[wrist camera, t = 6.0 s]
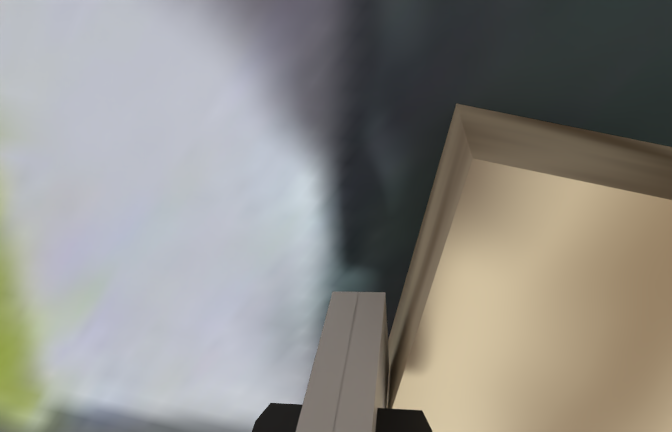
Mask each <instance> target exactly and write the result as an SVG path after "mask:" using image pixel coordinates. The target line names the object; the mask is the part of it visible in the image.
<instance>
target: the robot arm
mask: <svg viewBox="0 0 672 432" xmlns="http://www.w3.org/2000/svg"><path fill="white" fill-rule="evenodd" d="M388 379H389V350H388V332H387V314H386V296H385V292H332V296H331V300H330V303H329V307H328V311H327V315H326V319H325V322H324V326H323V330H322V334H321V337H320V341H319V345H318V349H317V353H316V356H315V360H314V364H313V368H312V371H311V375H310V379H309V383H308V387H307V390H306V394H305V398H304V402H303V405H297V404H279V403H270V405H269V406H268V407H267V408H266V409H265V410H264V412H263V413H262V414H261V415H260V416H259V418H258V419H257V420H256V422H255V424H254V427H253V430H252V432H432V429H431V427H430V425H429V423H428V421H427V419H426V417H425V415H424V413H423V411H422V410H407V409H390V408H387V394H388Z"/></svg>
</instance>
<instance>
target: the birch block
mask: <svg viewBox="0 0 672 432" xmlns="http://www.w3.org/2000/svg"><path fill="white" fill-rule="evenodd" d="M388 350H389V379H388V394H387V408H390V409H407V410H422V411H423V413H424V415H425V417H426V419H427V421H428V423H429V425H430V427H431V429H432V432H672V147H669V146H664V145H659V144H654V143H649V142H644V141H639V140H635V139H630V138H625V137H620V136H615V135H610V134H605V133H600V132H595V131H590V130H585V129H580V128H575V127H570V126H565V125H560V124H555V123H550V122H546V121H541V120H536V119H531V118H526V117H521V116H516V115H511V114H506V113H501V112H496V111H491V110H486V109H481V108H476V107H471V106H466V105H461V104H457V103H456V107H455V110H454V114H453V117H452V120H451V124H450V127H449V131H448V134H447V138H446V141H445V145H444V148H443V152H442V155H441V159H440V162H439V166H438V169H437V173H436V176H435V180H434V183H433V186H432V190H431V193H430V197H429V200H428V204H427V207H426V211H425V214H424V218H423V221H422V225H421V228H420V232H419V235H418V239H417V242H416V246H415V249H414V252H413V256H412V259H411V263H410V266H409V270H408V273H407V277H406V280H405V284H404V287H403V291H402V294H401V298H400V301H399V305H398V308H397V311H396V315H395V318H394V322H393V325H392V329H391V332H390V336H389V339H388Z"/></svg>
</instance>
